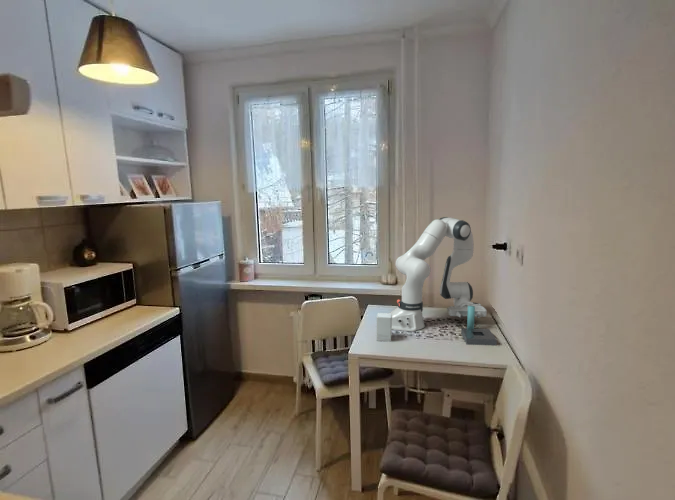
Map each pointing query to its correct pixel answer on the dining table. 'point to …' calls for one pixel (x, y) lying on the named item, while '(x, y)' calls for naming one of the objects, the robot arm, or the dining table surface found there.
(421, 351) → the dining table surface
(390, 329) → the supplement box
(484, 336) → the socket block
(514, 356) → the dining table surface
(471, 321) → the peg
